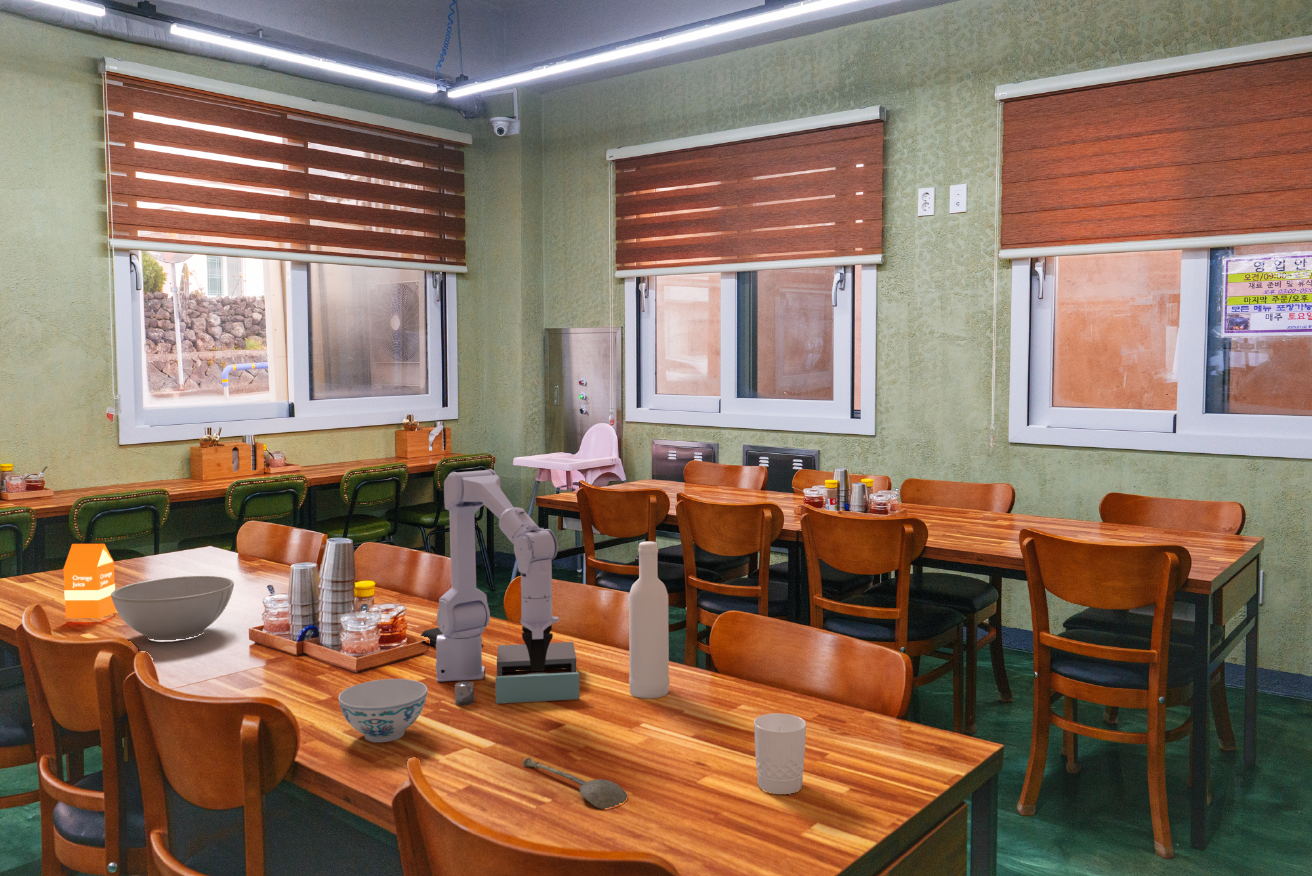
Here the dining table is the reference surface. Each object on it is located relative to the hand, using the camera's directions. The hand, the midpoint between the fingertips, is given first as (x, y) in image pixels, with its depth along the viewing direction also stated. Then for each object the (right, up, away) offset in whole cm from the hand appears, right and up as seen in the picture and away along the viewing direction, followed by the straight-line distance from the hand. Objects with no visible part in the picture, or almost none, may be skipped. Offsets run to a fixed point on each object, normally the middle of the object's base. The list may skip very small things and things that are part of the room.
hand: (537, 666), depth 179 cm
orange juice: (-126, -5, +71) cm, 145 cm away
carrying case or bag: (-27, -6, +46) cm, 54 cm away
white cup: (+41, -11, -33) cm, 54 cm away
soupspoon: (+9, -11, -32) cm, 35 cm away
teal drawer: (-1, -7, +11) cm, 13 cm away
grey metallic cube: (-15, -8, +5) cm, 18 cm away
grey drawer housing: (-3, -7, +20) cm, 22 cm away
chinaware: (-26, -10, -11) cm, 29 cm away
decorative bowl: (-95, -6, +55) cm, 110 cm away
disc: (-1, -7, +10) cm, 12 cm away
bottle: (+21, -8, +10) cm, 25 cm away
